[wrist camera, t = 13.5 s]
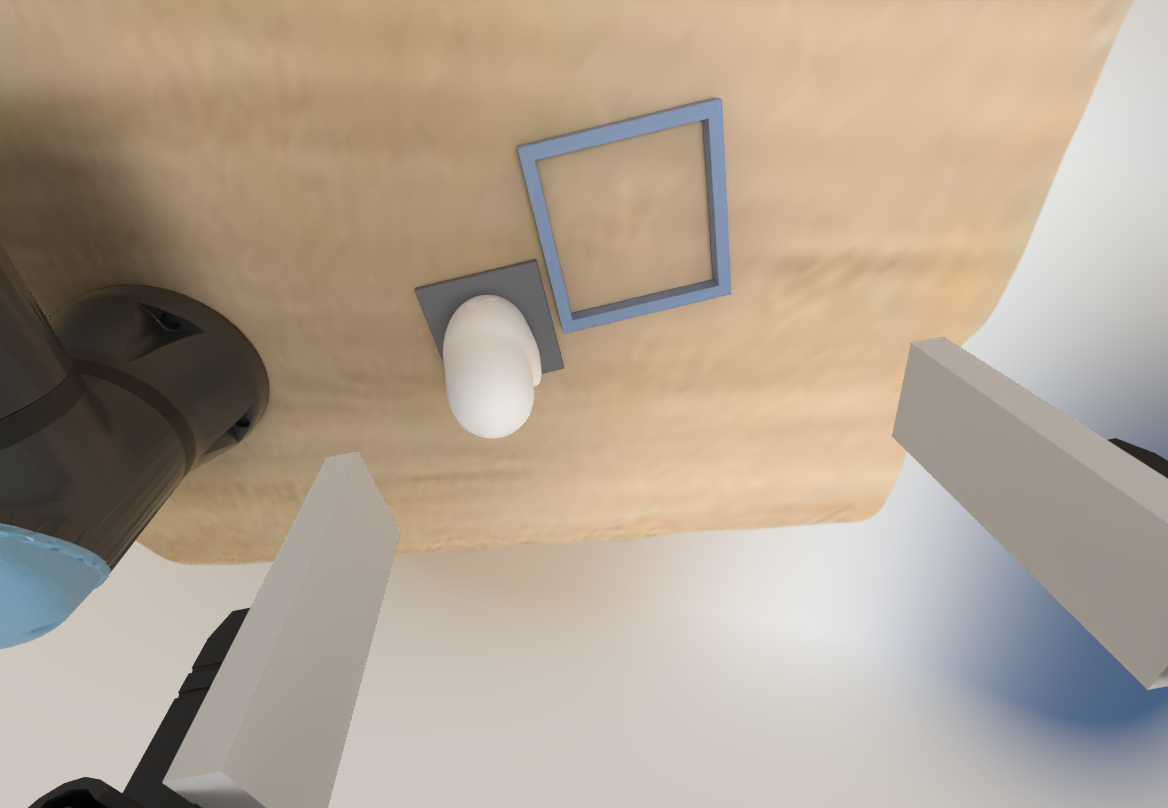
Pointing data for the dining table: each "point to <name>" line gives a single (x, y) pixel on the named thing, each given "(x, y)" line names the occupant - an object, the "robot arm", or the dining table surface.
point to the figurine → (490, 366)
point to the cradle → (717, 209)
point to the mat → (505, 282)
